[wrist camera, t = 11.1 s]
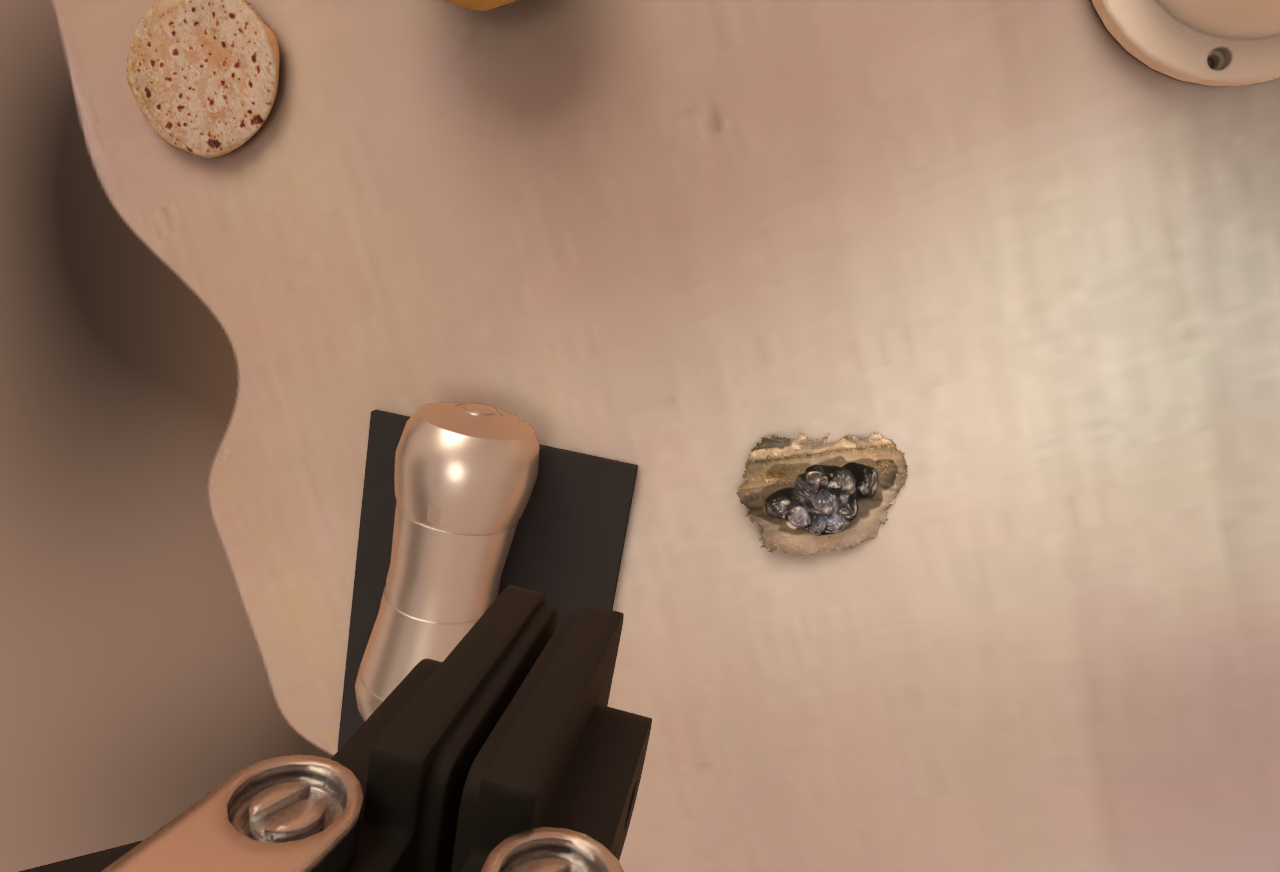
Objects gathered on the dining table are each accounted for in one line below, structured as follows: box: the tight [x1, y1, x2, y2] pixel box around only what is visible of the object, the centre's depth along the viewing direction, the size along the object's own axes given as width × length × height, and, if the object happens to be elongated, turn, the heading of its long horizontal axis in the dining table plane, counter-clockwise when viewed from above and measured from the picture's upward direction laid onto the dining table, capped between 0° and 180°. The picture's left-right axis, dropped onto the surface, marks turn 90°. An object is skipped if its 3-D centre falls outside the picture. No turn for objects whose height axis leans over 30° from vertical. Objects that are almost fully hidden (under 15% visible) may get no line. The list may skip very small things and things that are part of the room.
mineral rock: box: [736, 433, 908, 555], centre depth 39 cm, size 7×8×2 cm
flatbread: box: [127, 0, 280, 158], centre depth 40 cm, size 8×8×1 cm
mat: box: [338, 410, 638, 751], centre depth 44 cm, size 20×14×1 cm
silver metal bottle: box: [355, 402, 540, 721], centre depth 40 cm, size 6×7×20 cm
